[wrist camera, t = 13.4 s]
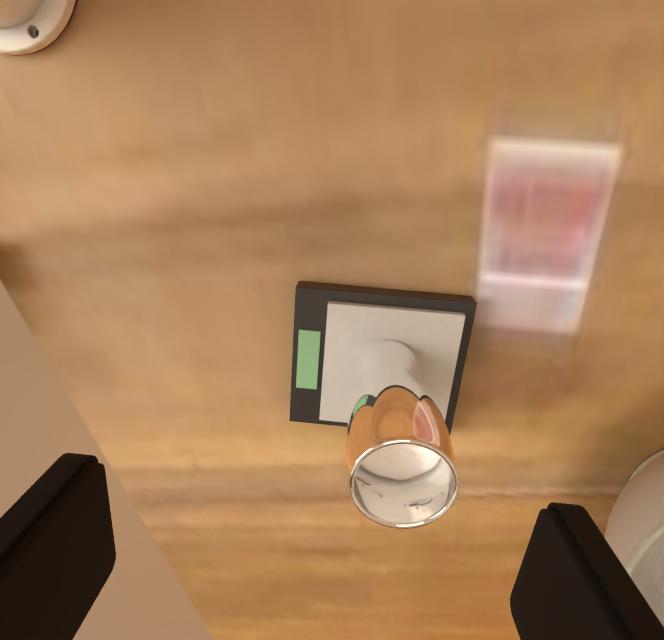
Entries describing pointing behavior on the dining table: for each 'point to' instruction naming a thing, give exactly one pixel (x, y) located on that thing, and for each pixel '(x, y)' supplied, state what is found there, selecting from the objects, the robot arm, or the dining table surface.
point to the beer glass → (398, 442)
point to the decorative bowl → (642, 531)
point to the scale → (366, 329)
